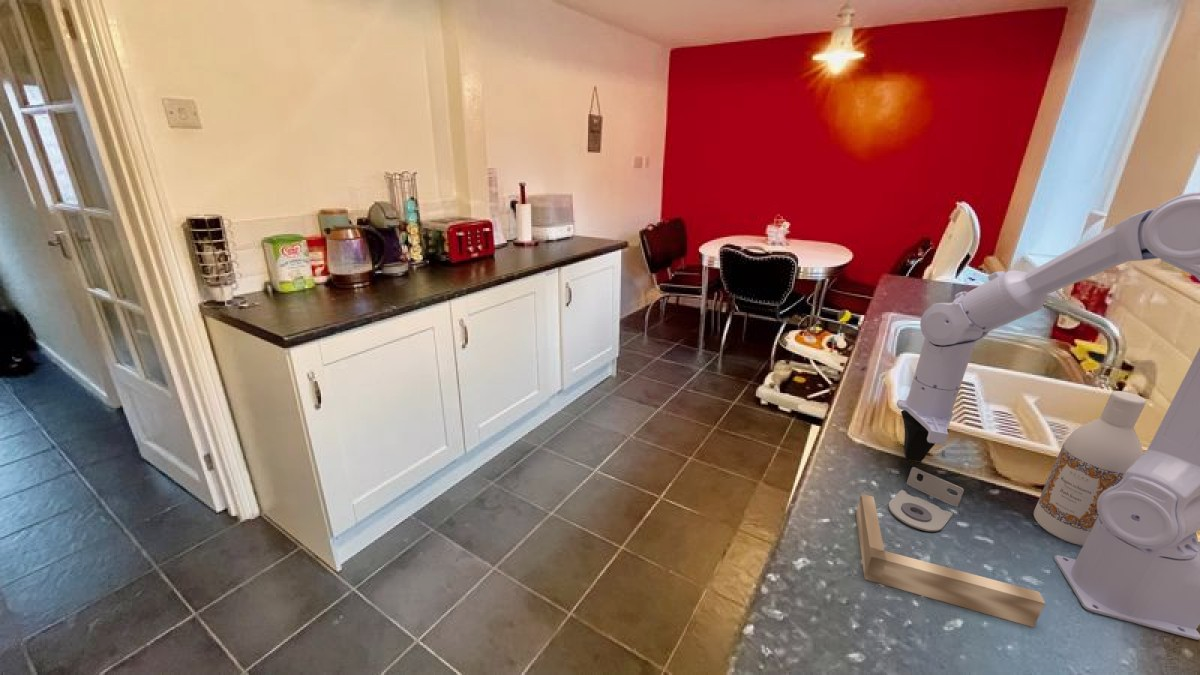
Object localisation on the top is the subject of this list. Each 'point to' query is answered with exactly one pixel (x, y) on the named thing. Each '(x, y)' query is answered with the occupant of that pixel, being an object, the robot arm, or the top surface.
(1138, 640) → the top surface
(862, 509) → the l-shaped wooden block
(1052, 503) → the bath foam
